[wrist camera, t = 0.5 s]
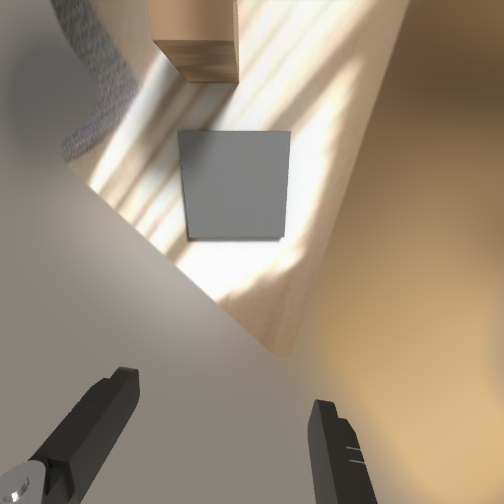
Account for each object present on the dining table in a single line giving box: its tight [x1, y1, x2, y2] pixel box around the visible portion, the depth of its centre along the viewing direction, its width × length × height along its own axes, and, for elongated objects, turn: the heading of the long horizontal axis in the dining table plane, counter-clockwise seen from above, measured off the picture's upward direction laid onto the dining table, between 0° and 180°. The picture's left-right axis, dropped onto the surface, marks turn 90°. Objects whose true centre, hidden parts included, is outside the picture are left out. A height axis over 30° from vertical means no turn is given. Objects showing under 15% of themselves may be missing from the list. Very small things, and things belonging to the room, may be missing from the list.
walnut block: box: [147, 0, 239, 83], centre depth 20 cm, size 6×6×11 cm
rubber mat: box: [178, 131, 291, 238], centre depth 30 cm, size 13×13×1 cm
